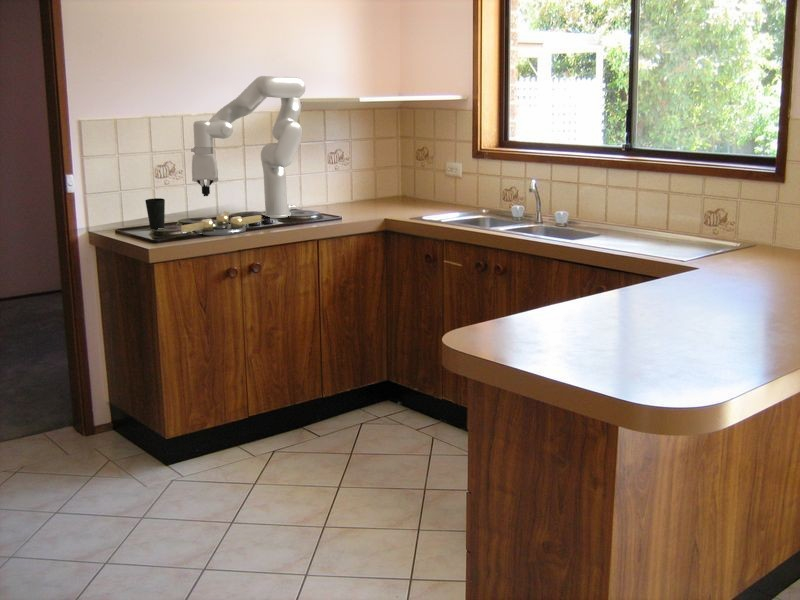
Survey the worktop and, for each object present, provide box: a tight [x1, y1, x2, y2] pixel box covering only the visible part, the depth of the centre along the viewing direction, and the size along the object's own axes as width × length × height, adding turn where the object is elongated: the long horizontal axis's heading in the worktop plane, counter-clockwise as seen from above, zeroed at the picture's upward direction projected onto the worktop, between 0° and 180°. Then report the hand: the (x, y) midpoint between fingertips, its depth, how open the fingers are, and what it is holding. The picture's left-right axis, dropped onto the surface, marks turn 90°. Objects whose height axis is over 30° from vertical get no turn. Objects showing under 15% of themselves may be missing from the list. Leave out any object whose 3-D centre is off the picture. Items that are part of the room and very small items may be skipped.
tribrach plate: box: [195, 222, 247, 237], centre depth 363 cm, size 20×20×3 cm
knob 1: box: [216, 210, 230, 225], centre depth 373 cm, size 14×5×4 cm, turn 3°
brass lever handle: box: [229, 214, 263, 228], centre depth 366 cm, size 14×5×4 cm, turn 134°
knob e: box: [180, 218, 214, 233], centre depth 355 cm, size 14×5×4 cm, turn 138°
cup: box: [144, 197, 166, 230], centre depth 368 cm, size 8×8×12 cm
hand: (206, 195), depth 375 cm, fingers closed
